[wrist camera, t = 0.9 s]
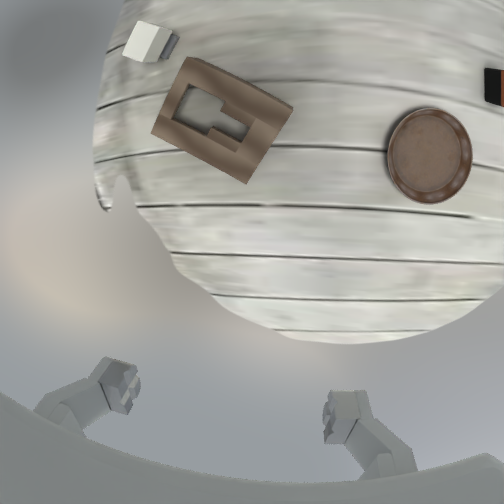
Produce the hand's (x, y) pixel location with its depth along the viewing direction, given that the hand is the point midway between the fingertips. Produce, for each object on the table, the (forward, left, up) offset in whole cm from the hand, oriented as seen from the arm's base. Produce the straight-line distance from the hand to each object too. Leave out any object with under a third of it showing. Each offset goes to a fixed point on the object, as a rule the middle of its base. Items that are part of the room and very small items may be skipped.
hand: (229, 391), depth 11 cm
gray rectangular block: (-6, -26, -43) cm, 51 cm away
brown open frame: (+1, -10, -43) cm, 44 cm away
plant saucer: (-14, +23, -44) cm, 51 cm away
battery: (-35, +26, -44) cm, 62 cm away
